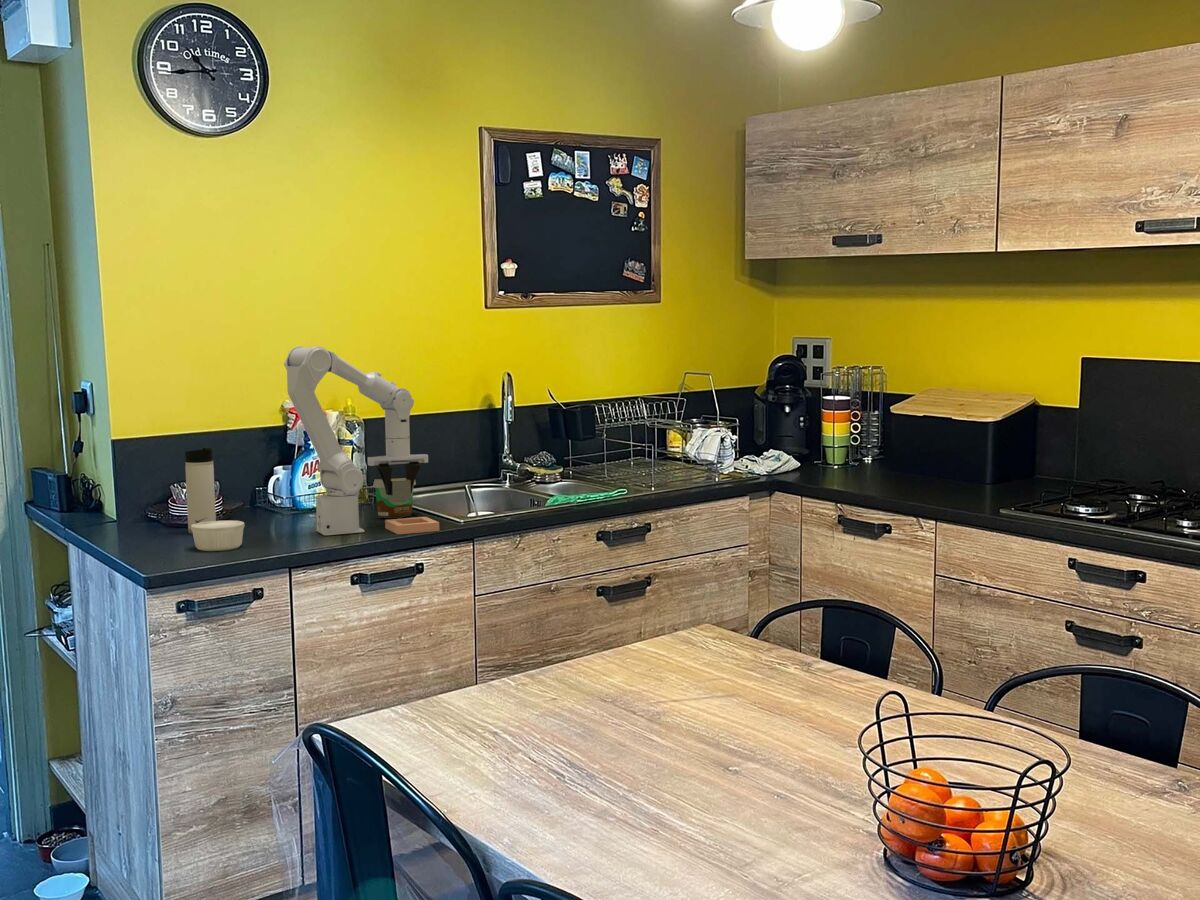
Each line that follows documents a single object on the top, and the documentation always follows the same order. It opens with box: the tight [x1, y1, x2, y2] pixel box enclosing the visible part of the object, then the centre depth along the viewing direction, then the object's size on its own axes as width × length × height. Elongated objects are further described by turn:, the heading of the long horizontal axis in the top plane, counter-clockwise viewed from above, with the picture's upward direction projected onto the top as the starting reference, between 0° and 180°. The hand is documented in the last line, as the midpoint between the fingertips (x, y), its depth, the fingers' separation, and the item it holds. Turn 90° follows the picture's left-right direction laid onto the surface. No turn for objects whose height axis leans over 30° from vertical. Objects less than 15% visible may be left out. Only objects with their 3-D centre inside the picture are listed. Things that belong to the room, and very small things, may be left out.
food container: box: [372, 478, 417, 517], centre depth 299 cm, size 12×6×10 cm, turn 143°
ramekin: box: [191, 520, 245, 552], centre depth 258 cm, size 11×11×5 cm
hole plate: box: [384, 516, 440, 535], centre depth 279 cm, size 10×10×2 cm
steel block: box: [387, 477, 411, 502], centre depth 287 cm, size 4×4×5 cm
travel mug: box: [184, 447, 217, 535], centre depth 278 cm, size 6×7×20 cm
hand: (399, 493), depth 287 cm, fingers closed on steel block, 4 cm apart
